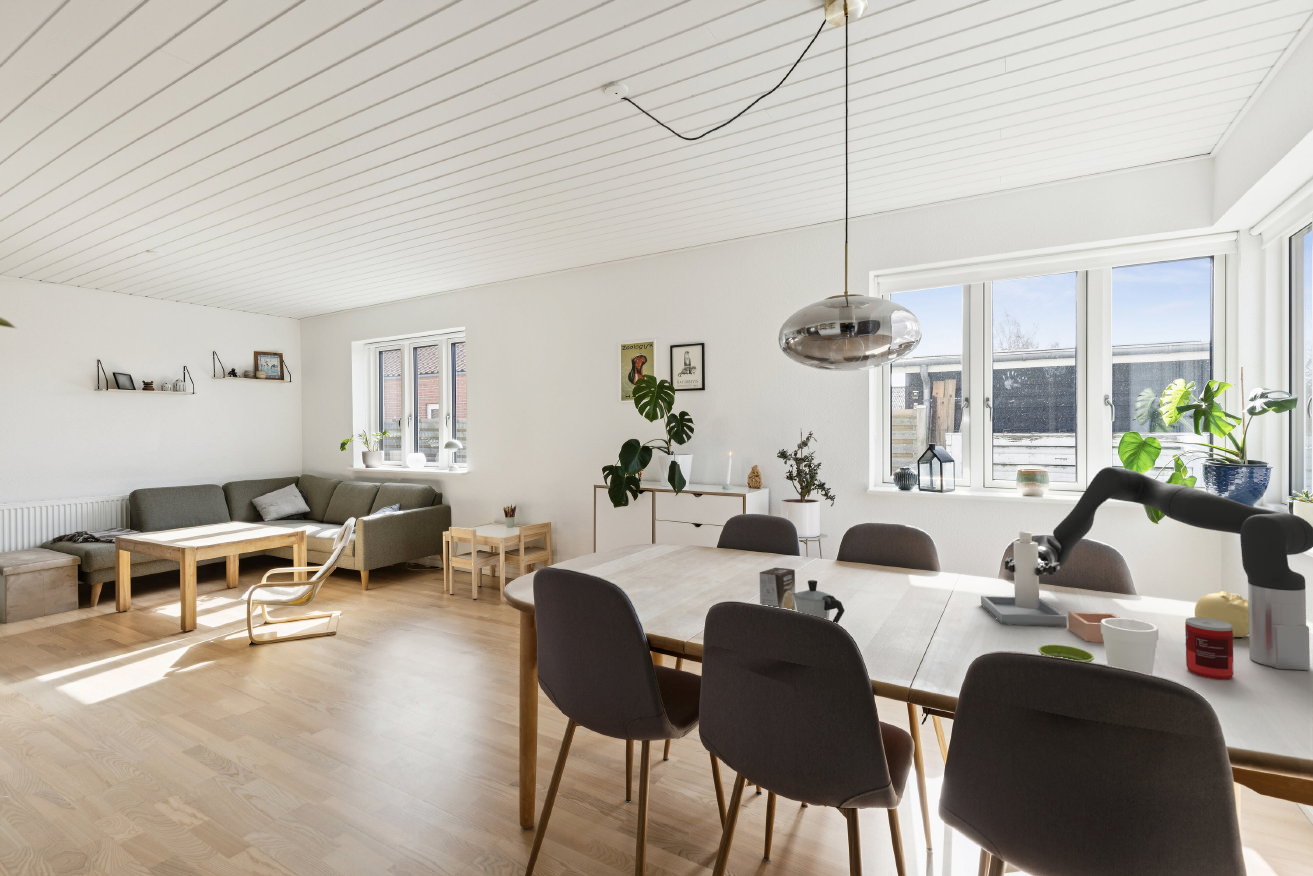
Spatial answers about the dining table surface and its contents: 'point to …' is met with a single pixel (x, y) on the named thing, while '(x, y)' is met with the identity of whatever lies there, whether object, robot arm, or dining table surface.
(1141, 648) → the foam cup
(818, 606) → the coffee maker
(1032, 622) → the tray
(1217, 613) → the sculpture
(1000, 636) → the dining table surface
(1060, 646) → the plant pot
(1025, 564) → the bottle
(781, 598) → the coffee box
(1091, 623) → the holder
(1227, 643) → the canned food
